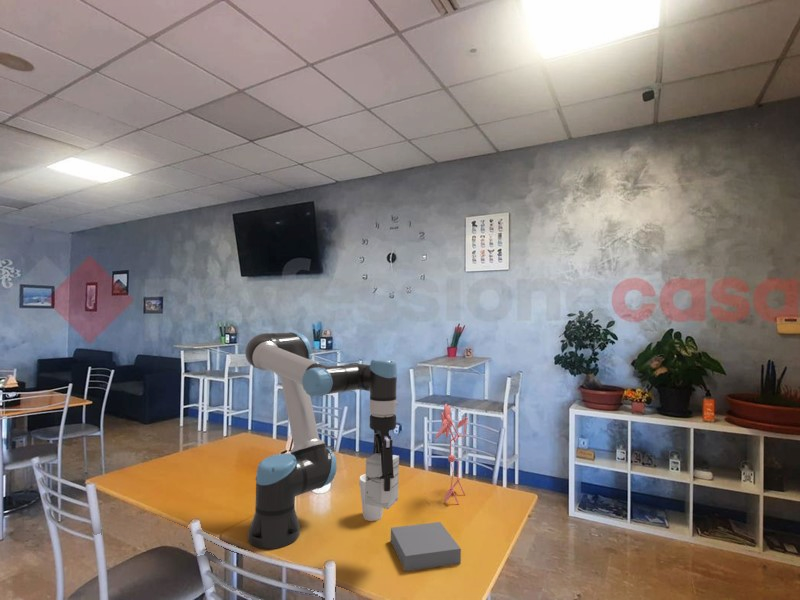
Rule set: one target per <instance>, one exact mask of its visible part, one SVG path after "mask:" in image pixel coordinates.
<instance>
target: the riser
mask: <svg viewBox="0 0 800 600" xmlns="http://www.w3.org/2000/svg"><path fill="white" fill-rule="evenodd" d="M390 543H391V545H392V547H393V549H394V551H395V553H396V555H397V557H398V559H399V562H400V563H401V566H402V568H403V570H404V571H405V572H411V571H417V570H424V569H431V568H437V567H438V568H439V567H444V566H445V567H446V566H451V565H458V564H459V565H460V564H461V561H462V559H461V558H462V553H461V552H462V548H461V546H459V544H458V543H457V542H456V540H455V538H453V537H452V535H451V534H450V533H449V531H448V530H447V529H446V527H445V526H444V525H443V523H442V522H441V521H437V522H428V523H420V524H411V525H410V524H409V525H404V526H393V527H390Z"/></svg>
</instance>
